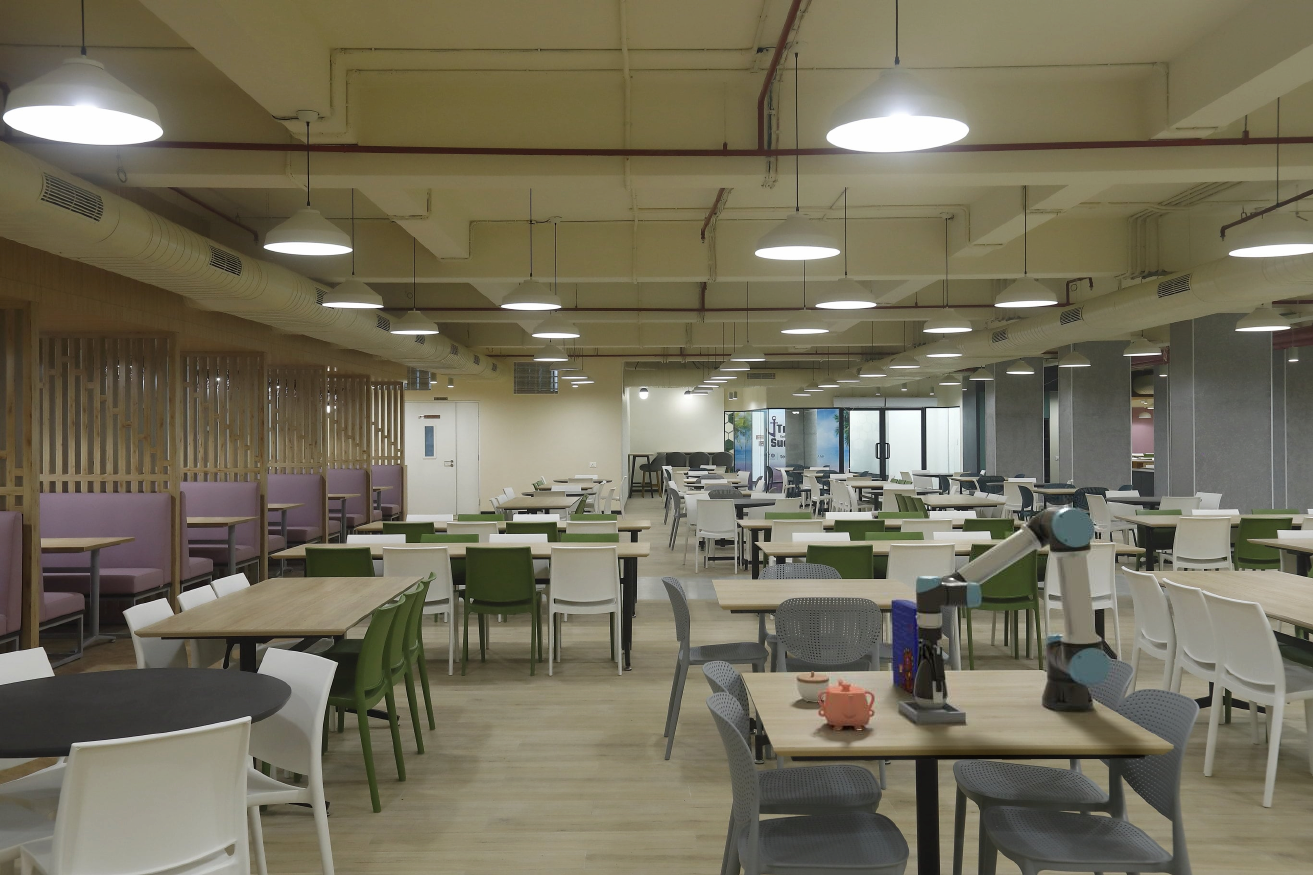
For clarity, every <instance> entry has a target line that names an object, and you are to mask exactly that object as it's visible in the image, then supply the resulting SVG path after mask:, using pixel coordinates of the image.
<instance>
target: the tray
mask: <svg viewBox="0 0 1313 875" xmlns="http://www.w3.org/2000/svg"><path fill="white" fill-rule="evenodd" d="M897 702H898V704H897V705H898V712H900V714H901V715H903V716H905V717H906V718H907V719H909V720H910V721H912V722H913V723H914V724H916V725H928V724H929V725H931V724H933V725H935V724H937V725H938V724H960V723H962V724H963V723H964V724H965V723H966V722H967V720H966V719H967V716H966V714H967V713H966V711H964V710H962V709H961V708H960V707H958V706H955V705H954V704H953V703H951V702H949V701H948V700H946V703H945V704H944V705H943V706H942V707H941V708H939V709H926V708H923V707H922V706H920V705H919V704H918V703H917V701H916V700H907V701H906V700H905V701H903V700H901V701H900V700H899V701H897Z"/></svg>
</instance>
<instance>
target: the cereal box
mask: <svg viewBox="0 0 1313 875" xmlns="http://www.w3.org/2000/svg"><path fill="white" fill-rule="evenodd" d="M915 616H917V604H916V602H915V601H912V600H908V599H892V600H891V635H892V636H891V639H892V682H893V684H894V683H895V684H894V685H896V684H897V685H898V686H897V685H896V686H897V687H899V686H900V687H901V688H900V687H899V688H900V689H902V688H903V689H904V691H905V692H906V691H907V692H906V693H907V694H909V693H910V695H911V694H912V695H911V696H913V697H914V698H915V696H914V683H915V678H916V674H917V671H918V669H917V668H916V666H917V655H918V640H921V639H919V638H918V637H917V627H918V626H919V625H918V624H917V619H916V617H915ZM903 689H902V690H903Z"/></svg>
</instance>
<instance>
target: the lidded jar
mask: <svg viewBox="0 0 1313 875" xmlns="http://www.w3.org/2000/svg"><path fill="white" fill-rule="evenodd" d="M829 681H830V678H829V676H828V675H826V674H824V673H823V674H821V673H815V671H811V672H809V673H801V674H798V675H797V676H796V684H797V685H796V686H797V691H798V694H799V695H800V696H801V697H802V699H803V701H805V700H806V701H805V702H807V701H813V702H812V703H816V702H815V701H818V694H819V693H820V692H821V691H824V690H827V687H830V685H829ZM825 695H826V694H822V695H821V700H822V701H823V699H825Z"/></svg>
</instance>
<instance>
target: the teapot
mask: <svg viewBox="0 0 1313 875" xmlns="http://www.w3.org/2000/svg"><path fill="white" fill-rule="evenodd" d="M837 682H838V685H837V686H835V685H834V686H832V685H831V686H830V685H829V687H827V690H824V691H821V692H820V693H819V694H818V701H819V702H818V704H819V706H820V709H818V712H817V713H818V716H820V717H822V718H823V717H824V718H825V720H826V721H827V723H828V724H829V725H831V726H834V727H833V730H835V729H842V730H843V727H845V726H847V727H848V726H849V727H850V726H851V727H854V728H853V729H854V730H855V729H863V730H864V728H863V726H868V725H869V722H870V719H871V718H872V717H874V716H875V713H876V712H875V710H874V709H873V708H872V707H873V705H874V703H875V699H876V698H875V695H874V693H873V692H872V691H870V690H868V689H867V690H864V689H863V688H862V687H861V686H857V685H856V686H855V685H854V686H853V685H852V684H851V683H848V682H844V680H843V679H840V678H839V679H837ZM851 685H852V686H851ZM822 694H826V695H825V697H824V701H823V700H822V701H823V702H822V701H821V695H822ZM866 694H868V695H870V697H871V698H870V702H868V698H867V695H866ZM822 712H823V713H822ZM870 712H871V713H870Z"/></svg>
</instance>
